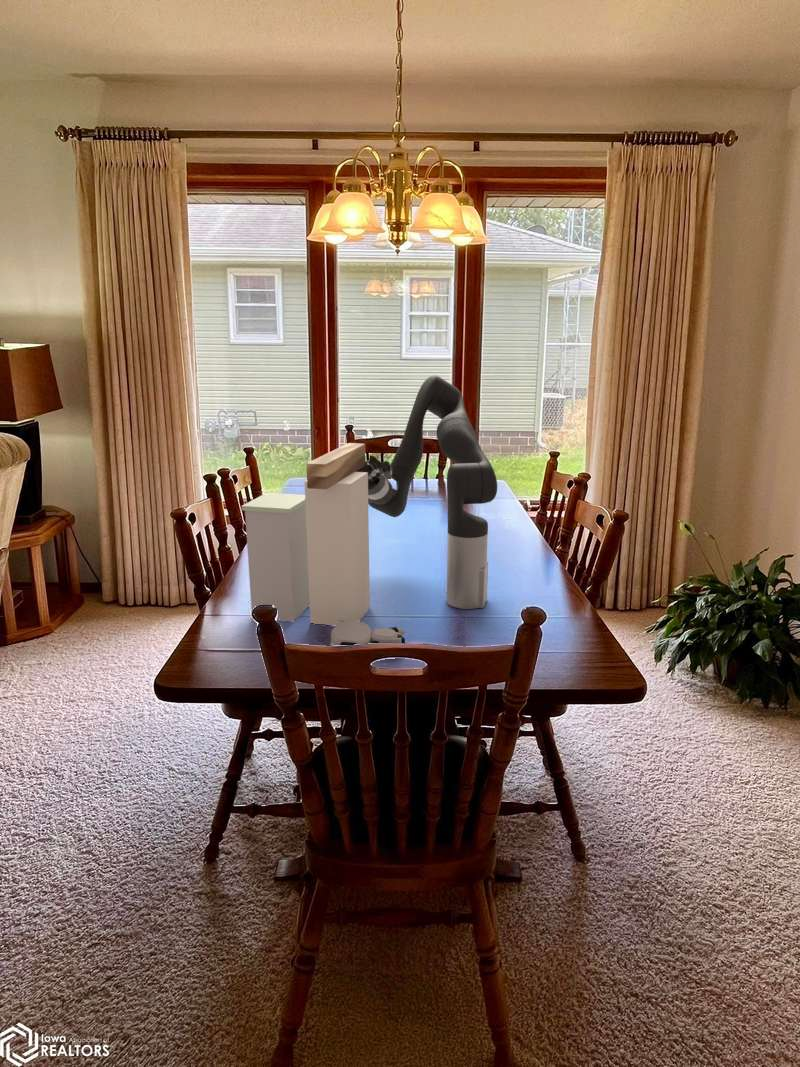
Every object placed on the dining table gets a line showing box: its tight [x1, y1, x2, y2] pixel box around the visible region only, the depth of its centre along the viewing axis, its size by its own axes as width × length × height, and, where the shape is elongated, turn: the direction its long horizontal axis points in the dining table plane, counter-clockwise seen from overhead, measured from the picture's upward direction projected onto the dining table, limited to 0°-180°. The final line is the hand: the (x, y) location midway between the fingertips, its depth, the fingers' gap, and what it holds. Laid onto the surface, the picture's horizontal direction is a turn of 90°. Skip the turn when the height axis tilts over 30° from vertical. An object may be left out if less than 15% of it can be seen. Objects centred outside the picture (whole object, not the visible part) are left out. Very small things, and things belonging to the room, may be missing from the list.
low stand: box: [241, 492, 310, 622], centre depth 161 cm, size 11×13×26 cm
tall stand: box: [304, 472, 371, 626], centre depth 157 cm, size 10×12×32 cm
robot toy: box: [329, 619, 406, 646], centre depth 144 cm, size 12×4×15 cm
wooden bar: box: [305, 442, 366, 489], centre depth 153 cm, size 4×26×5 cm, turn 165°
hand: (352, 458), depth 162 cm, fingers open, 8 cm apart
